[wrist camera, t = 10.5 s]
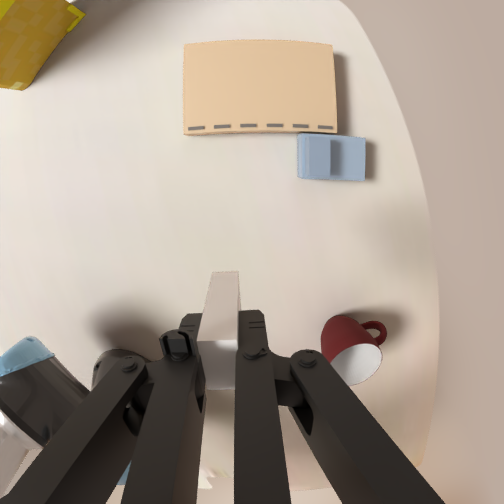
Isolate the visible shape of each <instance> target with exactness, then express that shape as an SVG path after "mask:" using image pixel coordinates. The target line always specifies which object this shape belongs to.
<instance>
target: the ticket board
mask: <svg viewBox="0 0 504 504" xmlns="http://www.w3.org/2000/svg"><path fill="white" fill-rule="evenodd" d="M183 131H184V135H187V136H195V135H209V134H227V133H309V134H327V135H331V134H335V133H337V108H336V87H335V71H334V58H333V47H332V45H330V44H322V43H313V42H302V41H288V40H227V41H212V42H202V43H192V44H185V45H184V62H183Z"/></svg>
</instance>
